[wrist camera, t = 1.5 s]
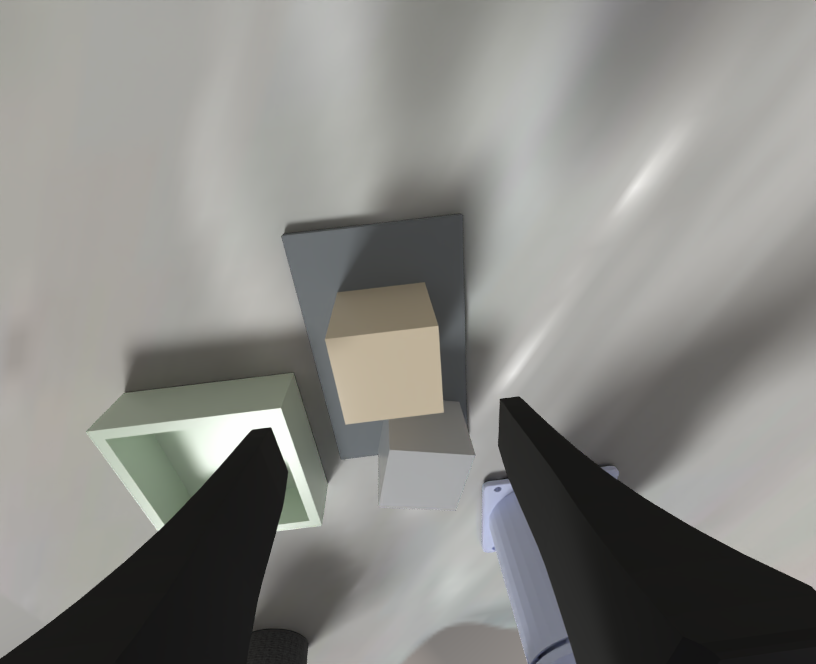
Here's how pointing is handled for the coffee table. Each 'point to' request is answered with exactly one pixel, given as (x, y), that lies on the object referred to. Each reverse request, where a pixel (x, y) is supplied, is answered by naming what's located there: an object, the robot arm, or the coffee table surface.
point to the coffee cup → (277, 647)
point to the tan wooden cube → (385, 353)
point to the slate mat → (372, 268)
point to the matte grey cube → (424, 460)
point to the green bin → (209, 443)
